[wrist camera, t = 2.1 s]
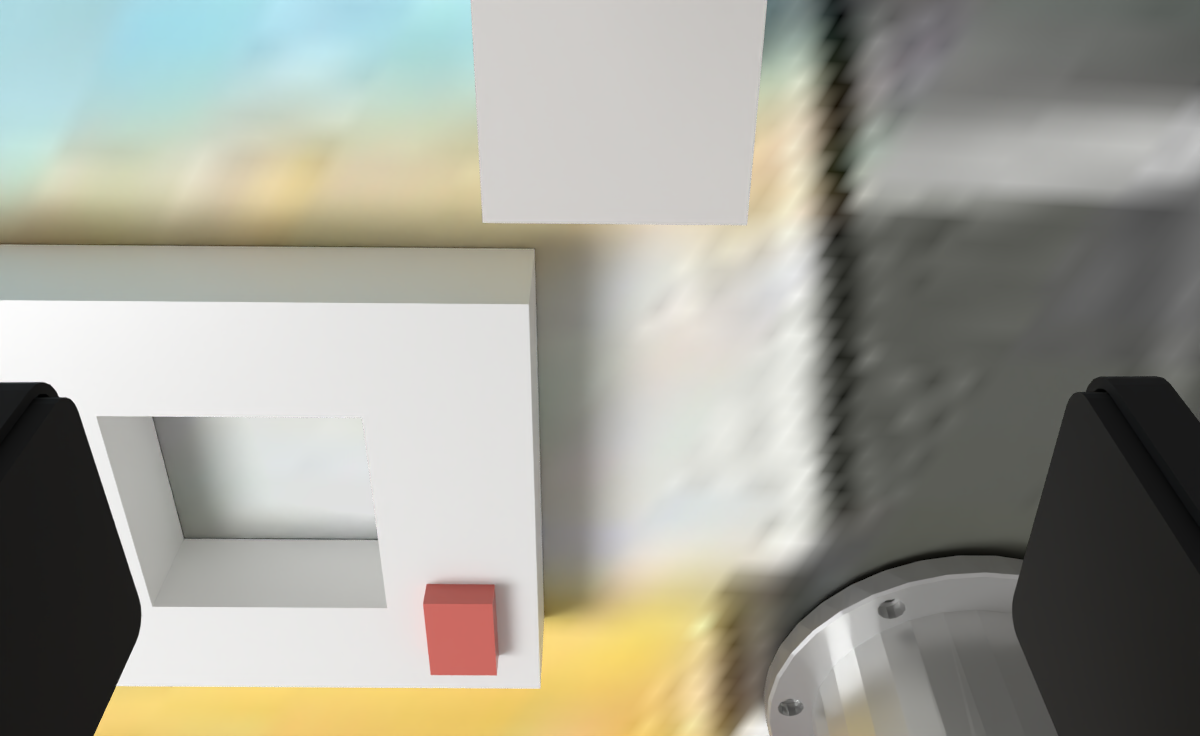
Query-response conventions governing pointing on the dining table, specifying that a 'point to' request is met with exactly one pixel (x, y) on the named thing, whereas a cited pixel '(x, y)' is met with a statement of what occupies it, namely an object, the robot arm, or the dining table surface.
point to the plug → (617, 109)
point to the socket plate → (309, 390)
